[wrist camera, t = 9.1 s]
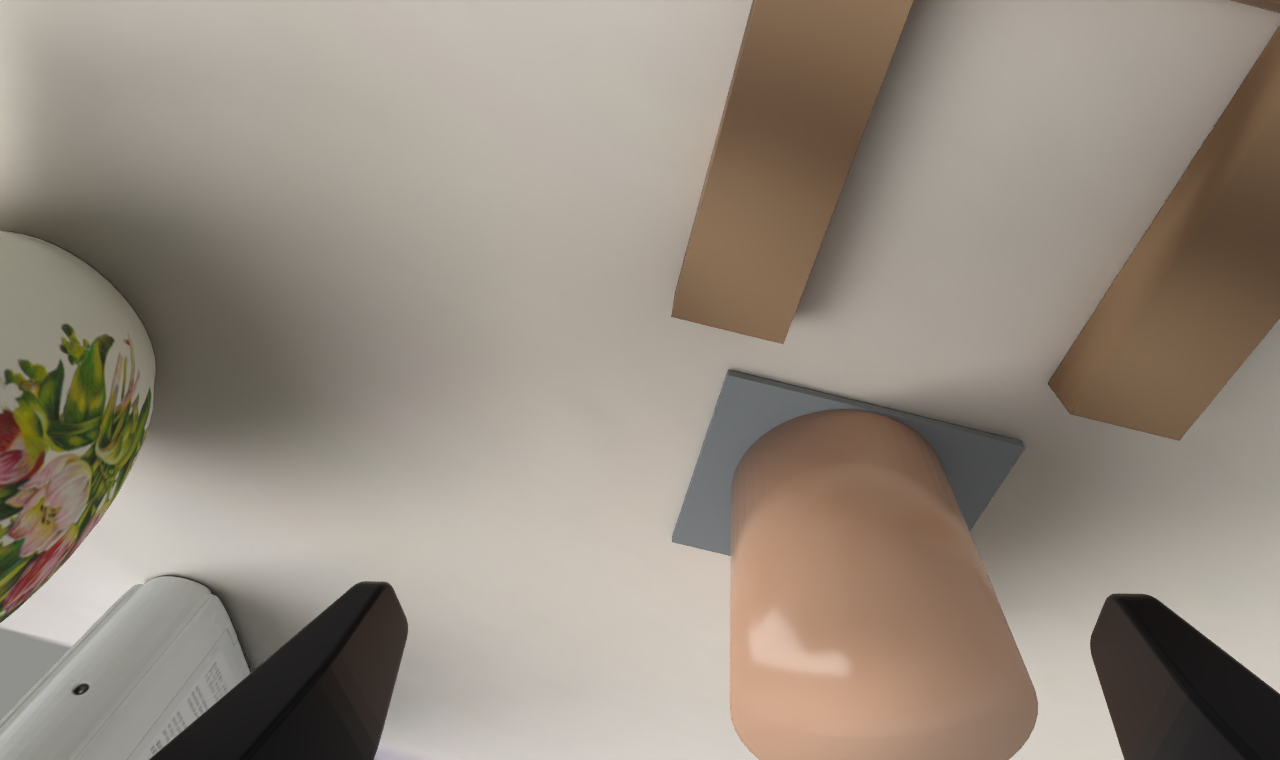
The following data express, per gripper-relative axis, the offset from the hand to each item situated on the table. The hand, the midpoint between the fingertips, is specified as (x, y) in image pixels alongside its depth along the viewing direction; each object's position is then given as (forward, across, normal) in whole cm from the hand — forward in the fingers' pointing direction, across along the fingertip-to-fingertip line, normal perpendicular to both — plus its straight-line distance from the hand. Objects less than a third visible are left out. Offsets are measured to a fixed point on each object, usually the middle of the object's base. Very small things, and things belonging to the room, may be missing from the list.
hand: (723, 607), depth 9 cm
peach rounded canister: (+11, -3, +10) cm, 15 cm away
